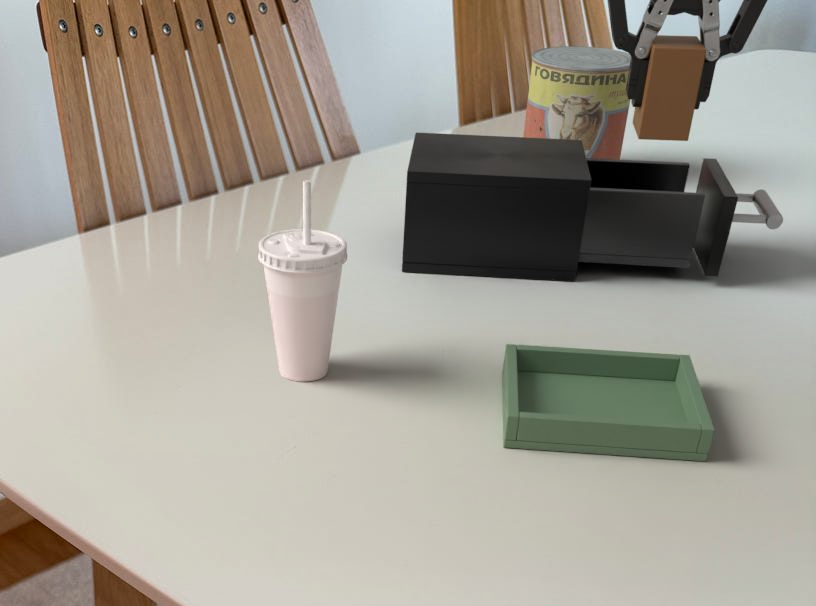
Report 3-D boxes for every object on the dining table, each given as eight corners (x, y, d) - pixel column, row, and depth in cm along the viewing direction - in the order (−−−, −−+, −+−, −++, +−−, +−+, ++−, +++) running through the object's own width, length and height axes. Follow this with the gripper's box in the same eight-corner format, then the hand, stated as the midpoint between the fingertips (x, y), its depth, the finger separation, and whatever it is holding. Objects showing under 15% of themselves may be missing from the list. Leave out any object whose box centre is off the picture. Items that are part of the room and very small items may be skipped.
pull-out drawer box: (750, 235, 102) (769, 161, 98) (774, 280, 93) (797, 200, 89) (549, 225, 104) (559, 151, 99) (554, 267, 95) (566, 188, 90)
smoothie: (292, 397, 77) (289, 199, 68) (245, 365, 81) (237, 174, 72) (361, 375, 80) (368, 183, 71) (313, 345, 83) (313, 160, 74)
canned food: (516, 185, 117) (530, 65, 109) (520, 157, 125) (534, 43, 117) (618, 192, 115) (640, 71, 107) (616, 163, 124) (636, 49, 116)
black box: (567, 234, 105) (582, 139, 99) (575, 281, 95) (591, 180, 89) (410, 225, 106) (415, 132, 100) (401, 272, 96) (407, 171, 90)
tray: (682, 384, 79) (689, 354, 78) (706, 461, 70) (715, 430, 69) (502, 373, 80) (506, 343, 79) (503, 447, 71) (507, 416, 70)
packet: (679, 124, 94) (697, 36, 90) (688, 141, 90) (706, 49, 85) (632, 122, 94) (647, 34, 90) (638, 139, 90) (654, 47, 86)
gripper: (620, -137, 78) (584, 114, 89) (818, -134, 76) (756, 120, 87) (612, -144, 83) (579, 93, 94) (796, -141, 82) (741, 98, 93)
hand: (664, 105), depth 91 cm, fingers closed on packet, 4 cm apart
